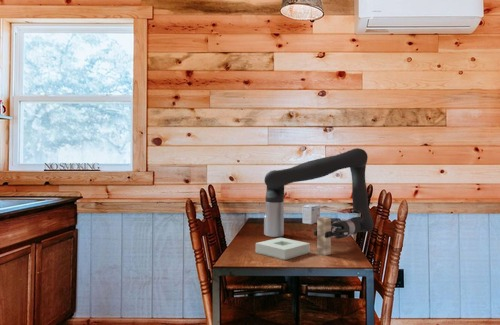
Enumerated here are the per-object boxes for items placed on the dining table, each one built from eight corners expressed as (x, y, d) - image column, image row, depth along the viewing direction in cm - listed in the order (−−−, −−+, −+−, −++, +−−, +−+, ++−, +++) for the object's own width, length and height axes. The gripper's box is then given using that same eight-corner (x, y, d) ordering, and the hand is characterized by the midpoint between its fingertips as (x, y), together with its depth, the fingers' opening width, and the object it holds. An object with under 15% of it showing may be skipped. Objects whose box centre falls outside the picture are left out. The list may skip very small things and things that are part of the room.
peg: (317, 253, 155) (317, 217, 154) (322, 252, 157) (322, 216, 157) (325, 255, 152) (325, 218, 152) (330, 253, 154) (330, 217, 154)
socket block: (255, 252, 156) (255, 243, 156) (280, 246, 167) (280, 237, 167) (284, 260, 145) (284, 249, 145) (309, 252, 156) (309, 243, 156)
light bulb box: (310, 220, 236) (310, 203, 236) (320, 222, 232) (320, 204, 232) (301, 223, 228) (302, 205, 228) (311, 224, 224) (311, 206, 224)
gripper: (328, 218, 170) (305, 222, 158) (357, 222, 159) (335, 227, 147) (328, 234, 170) (305, 240, 158) (357, 239, 159) (335, 246, 147)
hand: (320, 234), depth 153 cm, fingers open, 4 cm apart
